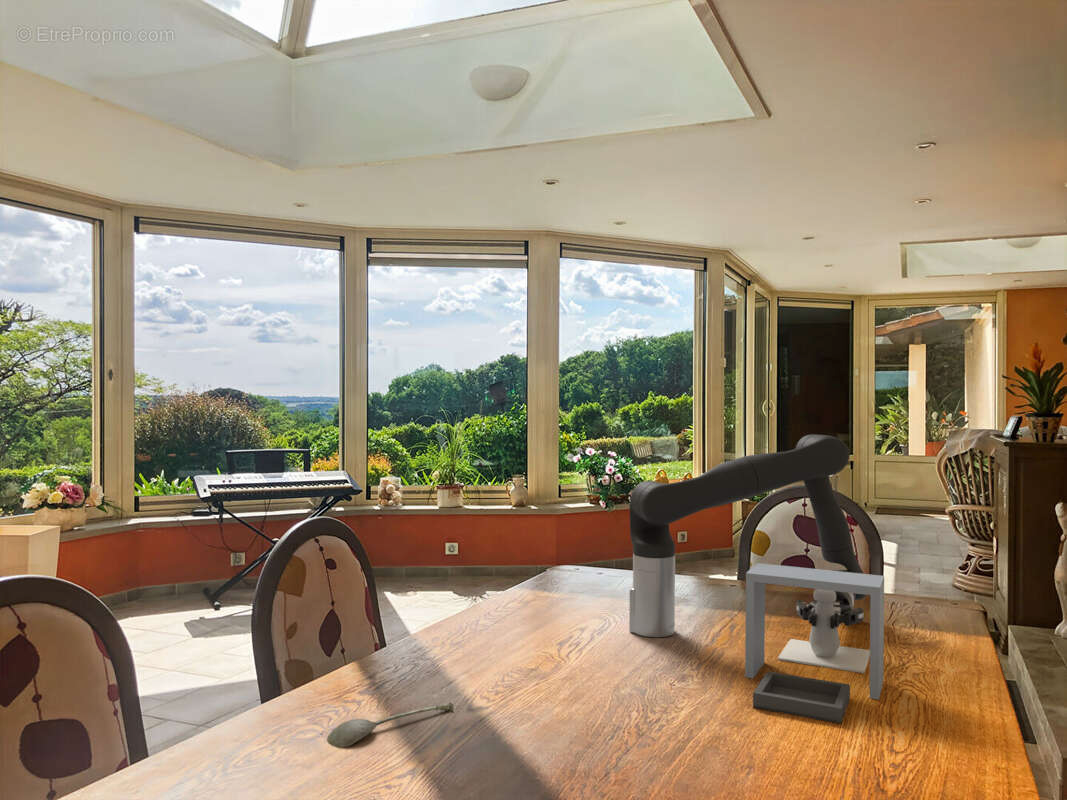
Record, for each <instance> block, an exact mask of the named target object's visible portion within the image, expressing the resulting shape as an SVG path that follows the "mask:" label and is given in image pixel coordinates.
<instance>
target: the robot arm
mask: <svg viewBox="0 0 1067 800" xmlns="http://www.w3.org/2000/svg"><path fill="white" fill-rule="evenodd" d="M850 454H851V453H850V449H849V447H848V445H847V444H846V443H845V442H844V441H843V440H841V439H839V438H838V437H836V436H832V435H826V434H814V433H813V434H812V433H811V434H807V435H804V436H803V437H801V438H800V439H799V441H798V442H797V443H796V446H795V448H794V449H792V450H787V451H786V450H785V451H779V452H778V451H777V452H765V453H757V454H751V455H750V454H749V455H745V456H741V457H737V458H734V459H731V460H727V461H723V462H722V463H720V464H717V465H715V466H714V467H712V468H710V469H709V470H707V471H706V472H704V473H703V474H701V475H698V476H696V477H694V478H690V479H685V480H681V481H676V482H669V483H664V482H659V481H655V480H644V481H641V482H639V483H638V484H637V485H636V486H635V487H634V488H633V490H632V492H631V494H630V498H629V533H630V534H629V535H630V540H631V541H630V542H631V544H632V587H631V588H629V608H628V609H629V610H628V611H629V612H628V613H629V618H628V619H629V622H628V624H629V625H628V626H629V627H628V628H629V631H628V632H630V633H634V634H636V635H639V636H642V637H647V638H664V637H665V638H666V637H670V636H673V635H674V634H675V629H676V628H675V626H676V625H675V624H676V621H675V613H676V611H675V610H676V603H675V602H676V589H675V588H676V543H675V541H674V539H673V537H672V534H671V531H670V524H672V523H674V522H677V521H680V520H681V519H684V518H686V517H689V516H691V515H694V514H696V513H698V512H701V511H704V510H708V509H712V508H717V507H720V506H724V505H729V504H732V503H736V502H740V501H744V500H747V499H751V498H753V497H757V496H760V495H764V494H765V493H769V492H773V491H774V490H779V489H780V488H785V487H786V486H790V485H792V484H794V483H798V482H803V484H804V487H805V490H806V492H807V496H808V498H809V501H810V502H809V503H810V505H811V508H812V511H813V512H812V513H813V515H814V519H815V523H816V528H817V533H818V539H819V544H820V548H821V549H820V550H821V555H822V559H823V560H824V561H826V562H828V563H832V564H838V565H841V566H842V567H844V568H845V569H836V570H835V569H834V570H833V569H830V570H831V571H840V572H850V573H860V574H865V573H864V571H863V570H862V567H861V566H860V563H859V562H858V559H857V557H856V555H855V550H854V546H853V541H852V534H851V531H850V525H849V523H848V520H847V517H846V515H845V513H844V511H843V510H842V508H841V507H842V506H841V505H840V503H839V501H838V500H837V498H836V496H835V493H834V490H833V488H832V484H831V479H830V476H834V475H836V474H838V473H840V472H842V471H843V470H844V469H845V468H846V466H847V465H848V464H849V462H850V461H849V460H850ZM835 593H836V601H835V602H833V606H834V611H835V615H832V616H831V619H830V628H831V629H835V627H837V628H839V626H841V625H842V624H843V625H844V626H846V627H847V626H848V627H849V626H853V625H856V624H860V623H861V622H864V608H861V607H857V608H854V604H855V601H861V600H864V599H865V598H866V597H867V595H865V594H856V593H847V592H839V591H835ZM816 604H817V601H816V600H814V599H813V601H811V602H809V603H808V604H807V602H804V601H803V600H797V601H796V614H797V615H798V616H799V617H800V618H801V619H802V620H803V621H808V623H809V624H810V625H811V627H812V626H816V614H815V609H816Z"/></svg>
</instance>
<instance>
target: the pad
mask: <svg viewBox="0 0 1067 800" xmlns="http://www.w3.org/2000/svg"><path fill="white" fill-rule="evenodd" d="M777 660H778V661H785V662H788V663H795V664H802V665H810V666H814V667H815V666H816V667H820V668H821V667H822V668H828V669H834V670H841V671H848V672H853V673H861V674H865V673H866V670H867V666H868V664H869V662H870V649H863V648H857V647H852V646H851V647H850V646H843V645H842V646H841V645H840V646H839V648H838V650H837V652H836V654H835V655H834V656H831V657H827V656H819V655H817V654H814V652H813V650H812V647H811V644H810V642H809V641H808V640H799V639H795V638H794V639H792V638H790V639H789V640H788V642H787V644H786V645H785V647H784V648H783V649H782V651H781V652H780V653H779V655H778V657H777Z"/></svg>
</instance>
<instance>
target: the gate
mask: <svg viewBox="0 0 1067 800" xmlns="http://www.w3.org/2000/svg"><path fill="white" fill-rule="evenodd" d="M831 570H832V569H830V570H829V569H820V568H819V569H818V568H809V567H800V566H790V565H779V564H771V563H760V562H757V563H756V564H754V565H753V567H751V568H750V569H748V571H747V572H746V573H745V639H744V640H745V641H744V644H745V645H744V646H745V647H744V648H745V649H744V650H745V651H744V652H745V653H744V655H745V657H744V658H745V659H744V677H745V678H748V679H754V678H755V677H756V676H757V674H758V673H759V671H760V670H761V668H762V667H763V665H764V664H765V659H766V658H765V655H766V654H765V653H766V651H765V650H766V649H765V647H766V643H765V641H766V639H765V638H766V637H765V636H766V634H765V633H766V629H765V628H766V584H769V585H778V586H787V587H797V588H805V589H813V590H815V589H821V590H830V591H839V592H847V593H856V594H865V595H866V596H870V599H869V600H870V607H869V608H870V612H869V616H870V617H869V618H870V619H869V632H870V633H869V650H870V658H869V699H873V700H880V696H881V694H882V693H881V692H882V688H883V684H884V657H885V656H884V655H885V654H884V653H885V651H884V648H885V646H884V645H885V644H884V643H885V641H884V640H885V638H884V637H885V635H884V634H885V629H884V628H885V575H879V574H869V573H868V574H867V573H864V574H860V573H850V572H840V571H831Z"/></svg>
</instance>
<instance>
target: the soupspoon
mask: <svg viewBox="0 0 1067 800" xmlns="http://www.w3.org/2000/svg"><path fill="white" fill-rule="evenodd" d="M454 709H455V706H454V703H453V702H452V701H449V702H448V703H446V704H440V705H438V704H436V705H435V706H431V707H425V708H421V709H420V708H419V709H415V710H411V711H406V712H403V713H399V714H395V715H391V716H387V717H385V718H382V719H379V720H377V721H372V720H369V719H366V718H365V719H364V718H355V719H353V718H352V719H350V720H349V719H348V720H346V721H344V722H342V723H340V724H338V725H337V726H336V727H335V728H333V729H332V730H331V732H330V733H329V734H328V736H327V738H326V742H327V743H328V745H331V746H332V747H334V748H338V749H345V748H347V747H350V746H352V745H354V744H355V743H357V742H359V741H361V740H362V739H363V738H365V737H366V736H369V734H370V733H372V732H373V731H374V730H375V729H376V728H377V726H379V725H382V724H385V723H388V722H390V721H393V720H397V719H401V718H404V717H408V716H411V715H416V714H421V713H424V712H429V711H436V712H438V711H442V712H443V711H446V712H448V711H451V712H453V711H454Z"/></svg>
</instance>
